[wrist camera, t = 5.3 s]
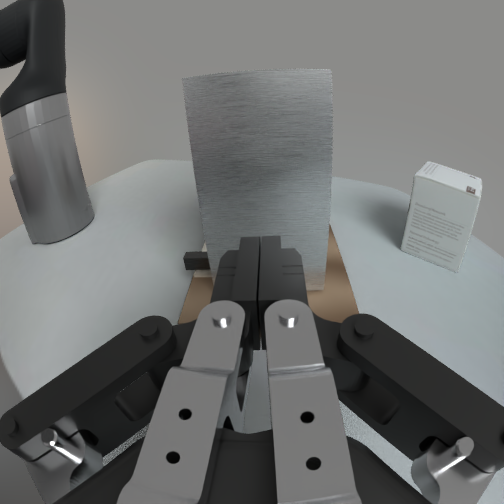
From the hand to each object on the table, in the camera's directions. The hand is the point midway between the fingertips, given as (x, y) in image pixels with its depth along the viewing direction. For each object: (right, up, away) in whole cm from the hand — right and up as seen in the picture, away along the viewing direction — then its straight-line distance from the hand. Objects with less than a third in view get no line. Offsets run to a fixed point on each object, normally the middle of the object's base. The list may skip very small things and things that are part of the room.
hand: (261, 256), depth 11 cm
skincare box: (+17, 0, +13) cm, 21 cm away
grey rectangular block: (0, -1, +9) cm, 9 cm away
